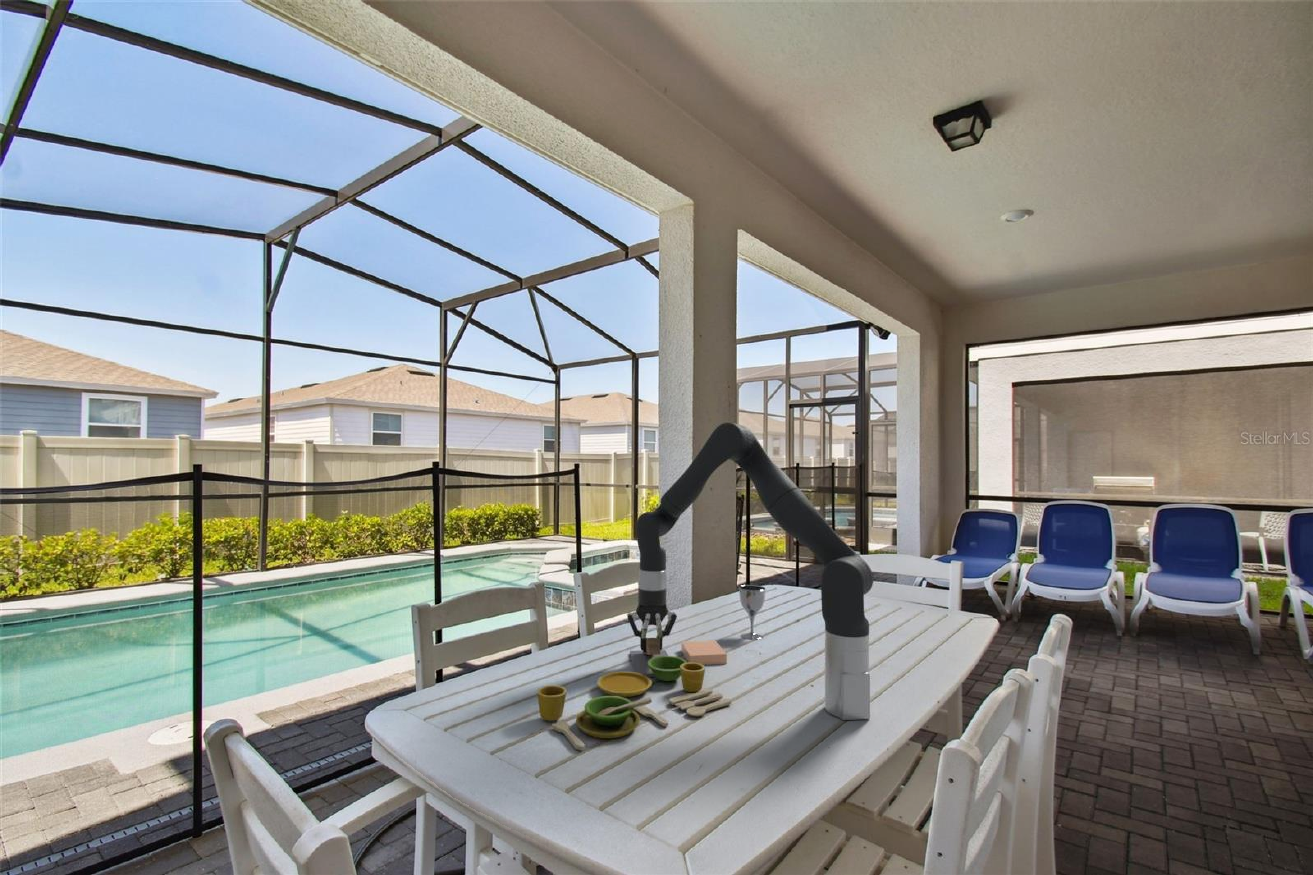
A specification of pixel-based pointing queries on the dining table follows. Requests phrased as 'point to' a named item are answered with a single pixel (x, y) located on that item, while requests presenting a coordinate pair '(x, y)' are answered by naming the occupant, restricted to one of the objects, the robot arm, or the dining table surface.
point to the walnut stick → (652, 646)
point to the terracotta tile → (704, 652)
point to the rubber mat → (644, 661)
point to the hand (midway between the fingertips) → (651, 651)
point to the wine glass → (752, 606)
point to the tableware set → (617, 712)
